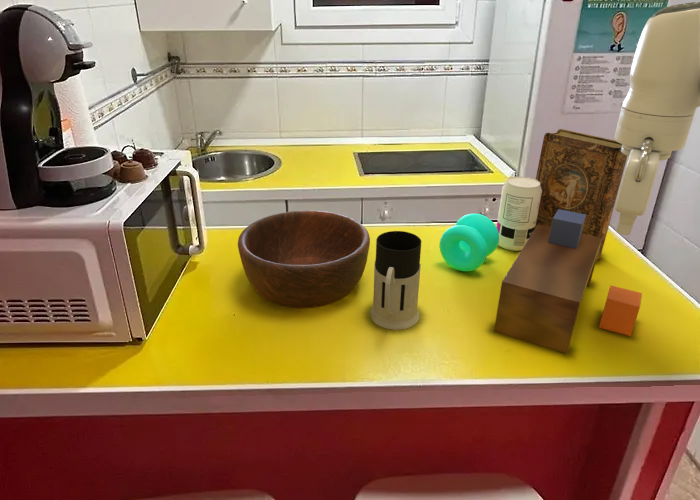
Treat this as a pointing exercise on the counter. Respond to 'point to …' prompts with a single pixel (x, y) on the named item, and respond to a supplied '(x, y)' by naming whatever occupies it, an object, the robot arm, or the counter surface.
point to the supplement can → (518, 211)
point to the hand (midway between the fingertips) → (626, 221)
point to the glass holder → (396, 280)
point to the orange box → (620, 310)
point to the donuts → (469, 242)
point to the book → (580, 179)
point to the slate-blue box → (567, 228)
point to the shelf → (546, 290)
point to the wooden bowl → (304, 257)
